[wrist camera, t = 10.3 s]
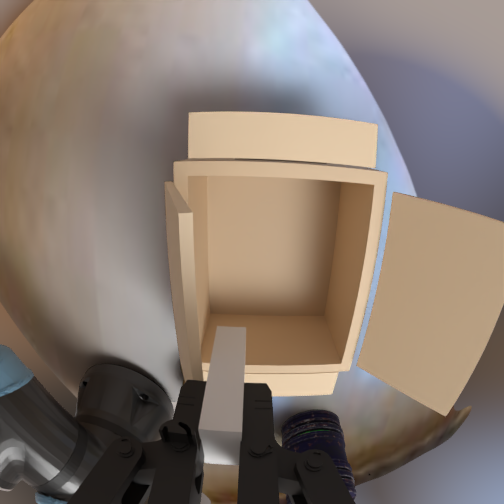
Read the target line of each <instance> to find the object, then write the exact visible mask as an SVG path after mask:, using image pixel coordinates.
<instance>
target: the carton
mask: <svg viewBox="0 0 504 504" xmlns="http://www.w3.org/2000/svg"><path fill="white" fill-rule="evenodd" d="M377 132H378V124H372V123H366V122H360V121H353V120H346V119H339V118H331V117H322V116H312V115H301V114H288V113H270V112H190V113H189V126H188V158H190V159H185V160H180V161H175V162H174V185H175V187H176V188H177V190H178V191H179V193H180V194H181V196H182V197H183V199H184V200H185V202H186V203H187V205H188V206H189V208H190V209H191V211H192V212H193V237H194V262H195V281H196V298H197V312H198V326H199V338H200V349H201V360H202V370H203V379H204V381H207V377H208V372H209V366H210V361H211V355H212V350H213V345H214V340H215V334H216V329H217V326H227V327H246V352H245V382H244V383H267V385H268V386H269V388H270V390H271V391H272V396H310V395H328V394H332V393H333V389H334V386H335V383H336V379H337V376H338V372H339V371H349V369H350V366H351V363H352V359H353V356H354V352H355V349H356V345H357V342H358V338H359V334H360V331H361V327H362V323H363V319H364V315H365V310H366V306H367V302H368V297H369V293H370V288H371V283H372V279H373V273H374V268H375V263H376V258H377V252H378V246H379V240H380V233H381V227H382V220H383V212H384V204H385V196H386V187H387V176H388V173H387V172H383V171H379V170H375V169H371V168H375V166H376V151H377ZM366 167H370V168H366Z"/></svg>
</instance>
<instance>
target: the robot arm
mask: <svg viewBox="0 0 504 504" xmlns="http://www.w3.org/2000/svg"><path fill="white" fill-rule="evenodd" d="M245 352H246V327H227V326H217V329H216V334H215V340H214V345H213V350H212V355H211V361H210V366H209V372H208V377H207V381H198V380H187V381H186V382H185V383H184V384H183V386H182V387H181V390H180V394H179V397H178V401H177V405H176V409H175V413H174V409H173V405H172V403H171V401H170V399H169V398H168V396H167V395H166V394H165V392H164V391H163V390H162V389H161V388H160V387H158V386H157V385H156V384H155V383H154V382H152V381H151V380H149V379H148V378H146V377H145V376H143V375H141V374H139V373H137V372H135V371H133V370H130V369H128V368H125V367H121V366H117V365H112V364H99V365H95V366H93V367H91V368H90V369H89V370H88V371H87V372H86V374H85V375H84V377H83V378H82V380H81V382H80V386H79V392H78V399H77V408H76V415H75V417H73V416H72V415H71V414H69V412H67V411H66V410H65V409H64V408H63V407H62V406H61V405H60V404H59V403H58V401H56V400H55V399H54V397H53V396H52V395H51V394H50V393H49V392H48V391H47V390H46V389H45V388H44V387H43V385H42V384H41V383H40V382H39V381H38V380H37V379H36V377H35V376H34V374H33V372H32V371H31V370H30V369H29V368H27V367H26V366H25V365H24V364H23V363H22V361H21V360H20V359H19V358H18V357H17V356H16V354H15V353H14V352H13V351H12V350H11V349H10V348H9V347H7V346H4V345H0V490H4V491H10V490H12V489H13V488H14V487H15V486H16V484H17V483H18V482H19V481H21V480H23V481H25V482H26V483H27V484H29V485H30V486H32V487H33V488H34V489H36V490H37V491H38V492H36V493H35V496H36V497H35V499H36V502H37V503H38V504H144V503H145V502H146V500H147V498H148V496H149V500H148V504H200V502H201V493H202V485H203V477H204V472H203V464H204V461H205V463H212V464H226V465H239V479H238V501H237V504H279V492H281V493H285V494H288V495H289V498H290V501H291V503H292V504H355V502H354V500H353V498H352V496H351V495H350V493H349V491H348V489H347V487H346V485H345V483H344V481H343V480H342V478H341V476H340V474H339V472H338V470H337V468H336V466H335V464H334V462H333V460H332V458H331V457H330V456H329V455H328V454H327V453H326V452H324V451H322V450H317V449H312V450H307V451H305V452H302V453H298V452H293V451H289V450H286V449H284V448H283V447H281V446H280V445H279V444H278V443H277V442H276V440H275V437H274V424H273V407H272V391H271V390H270V388H269V386H268V385H267V383H244V382H245ZM173 414H174V416H173ZM172 418H173V419H172Z"/></svg>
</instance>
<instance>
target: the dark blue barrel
mask: <svg viewBox="0 0 504 504" xmlns="http://www.w3.org/2000/svg"><path fill="white" fill-rule="evenodd" d="M282 447H283V448H284V449H286V450H289V451H293V452H298V453H302V452H305V451H307V450H312V449H317V450H322V451H324V452H326V453H327V454H328V455H329V456H330V457H331V458H332V460H333V462H334V464H335V466H336V468H337V470H338V472H339V474H340V476H341V478H342V480H343V481H344V483H345V485H346V487H347V489H348V491H349V493H350V495H351V496H352V498H353V500H354V499H355V498H356V496H357V494H356V490H355V485H354V477H353V474H352V468H351V467H350V464H349V463H348V461H347V457H346V453H345V442H344V435H343V431H342V429H341V426H340V422H339V418H338V416H337V415H336V414H334V413H332V412H330V411H325V410H312V411H306V412H302V413H299V414H297V415H295V416H293V417H291V418H289V419H288V420H287V421H286V422H285V423H284V424H283V426H282ZM286 500H287V504H292V503H291V501H290V498H289V495H288V494H286Z"/></svg>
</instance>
